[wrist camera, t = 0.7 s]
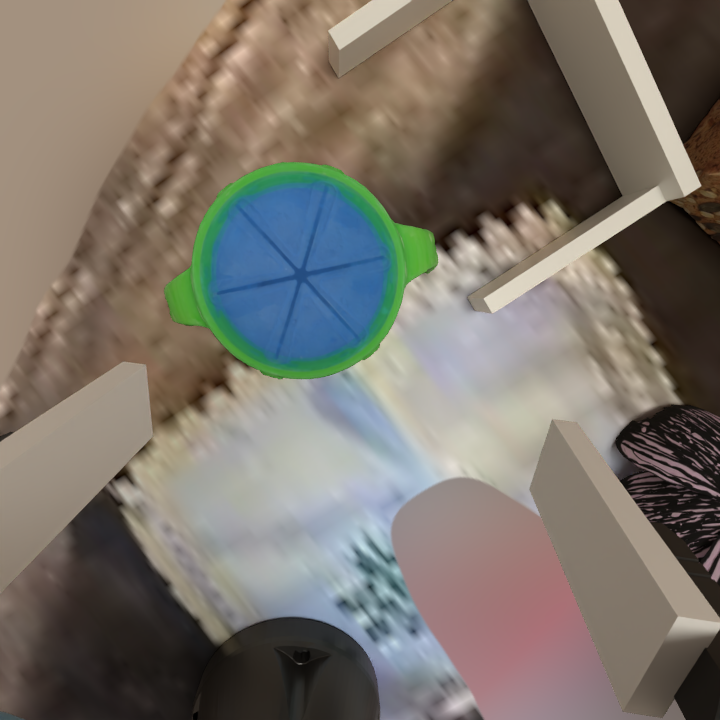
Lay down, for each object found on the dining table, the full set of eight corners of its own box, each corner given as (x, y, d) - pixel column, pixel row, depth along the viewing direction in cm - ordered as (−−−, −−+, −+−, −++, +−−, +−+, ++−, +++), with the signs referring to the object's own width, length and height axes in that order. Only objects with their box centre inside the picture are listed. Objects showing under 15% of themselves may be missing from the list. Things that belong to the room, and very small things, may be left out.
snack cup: (411, 191, 30) (450, 145, 20) (422, 339, 32) (463, 363, 22) (187, 212, 30) (114, 175, 20) (212, 362, 31) (156, 398, 21)
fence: (475, 310, 32) (501, 315, 27) (328, 61, 29) (328, 14, 24) (643, 201, 32) (701, 186, 27) (515, -67, 28) (554, -142, 23)
